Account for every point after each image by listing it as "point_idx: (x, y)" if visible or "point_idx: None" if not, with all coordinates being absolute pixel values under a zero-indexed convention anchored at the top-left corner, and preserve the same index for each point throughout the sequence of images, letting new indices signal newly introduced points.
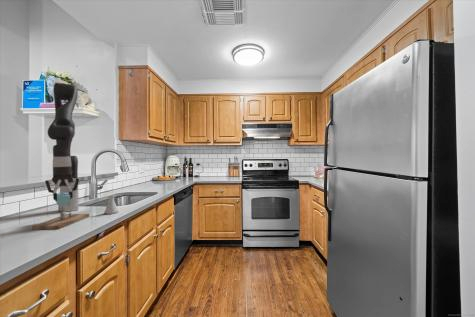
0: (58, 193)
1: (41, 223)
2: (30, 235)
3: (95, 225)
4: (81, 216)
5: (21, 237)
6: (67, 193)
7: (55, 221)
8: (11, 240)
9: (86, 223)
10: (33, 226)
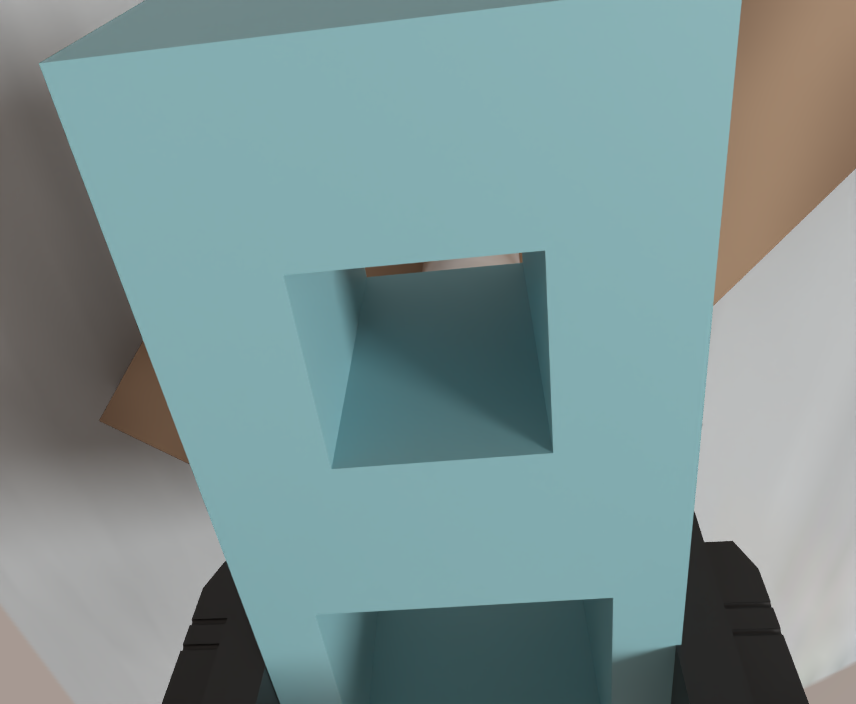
0: (228, 230)
1: None
2: (191, 602)
3: (808, 616)
4: (789, 209)
5: (130, 617)
6: (661, 450)
7: None
8: (80, 650)
9: (754, 484)
10: (113, 422)
